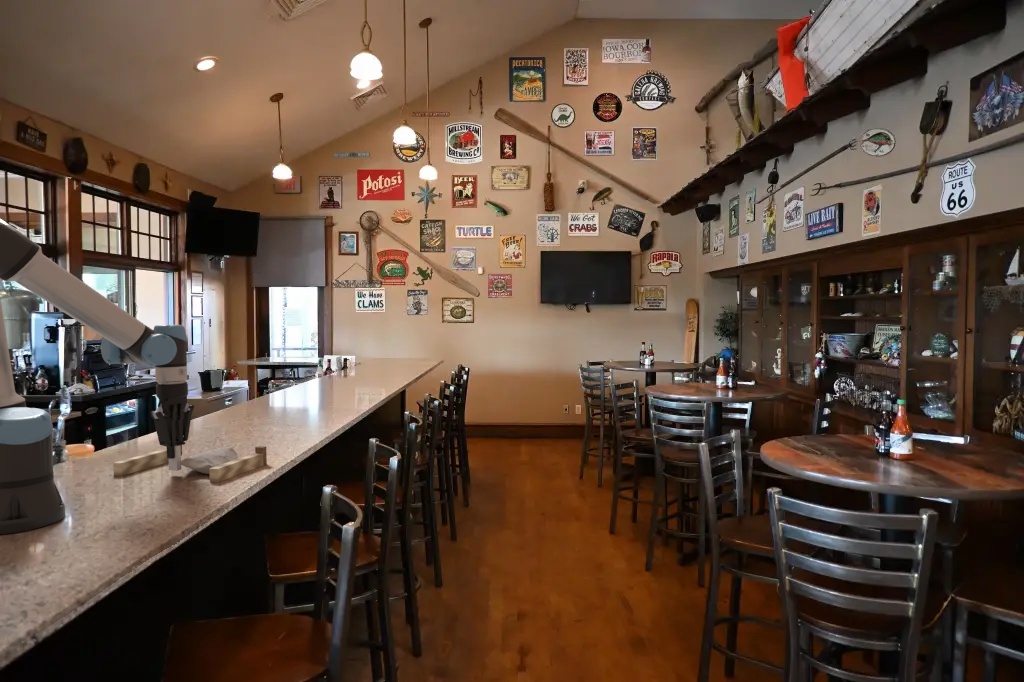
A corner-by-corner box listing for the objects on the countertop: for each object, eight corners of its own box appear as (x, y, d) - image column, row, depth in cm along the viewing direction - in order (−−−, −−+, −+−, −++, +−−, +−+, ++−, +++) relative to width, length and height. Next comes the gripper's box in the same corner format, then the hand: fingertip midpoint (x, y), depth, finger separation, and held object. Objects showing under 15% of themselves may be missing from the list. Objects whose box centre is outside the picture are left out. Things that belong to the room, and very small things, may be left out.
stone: (222, 481, 165) (249, 460, 190) (224, 462, 165) (251, 443, 190) (172, 476, 164) (207, 455, 188) (175, 457, 163) (209, 439, 188)
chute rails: (218, 482, 160) (217, 462, 159) (113, 475, 168) (113, 456, 168) (266, 464, 179) (266, 446, 179) (171, 458, 187) (170, 441, 187)
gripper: (164, 385, 159) (167, 476, 160) (201, 379, 171) (204, 464, 172) (140, 384, 161) (143, 475, 162) (178, 379, 173) (181, 463, 174)
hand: (175, 469), depth 167 cm, fingers closed
